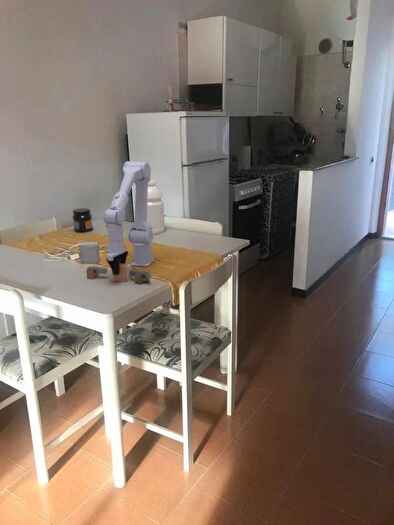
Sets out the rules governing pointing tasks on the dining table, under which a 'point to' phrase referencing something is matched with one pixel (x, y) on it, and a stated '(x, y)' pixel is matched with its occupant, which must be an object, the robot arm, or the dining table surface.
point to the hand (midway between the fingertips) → (119, 271)
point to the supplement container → (82, 220)
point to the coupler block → (123, 273)
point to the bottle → (155, 208)
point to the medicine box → (89, 252)
